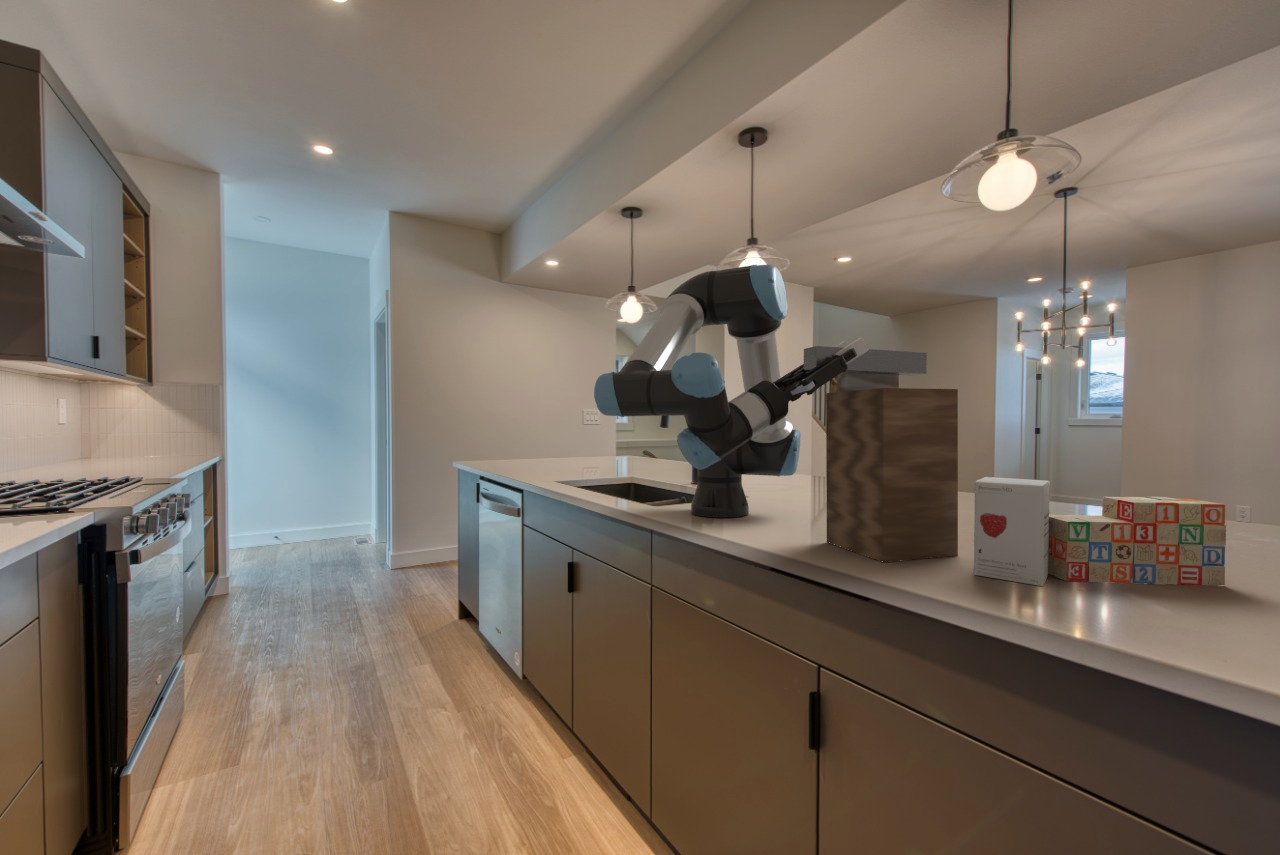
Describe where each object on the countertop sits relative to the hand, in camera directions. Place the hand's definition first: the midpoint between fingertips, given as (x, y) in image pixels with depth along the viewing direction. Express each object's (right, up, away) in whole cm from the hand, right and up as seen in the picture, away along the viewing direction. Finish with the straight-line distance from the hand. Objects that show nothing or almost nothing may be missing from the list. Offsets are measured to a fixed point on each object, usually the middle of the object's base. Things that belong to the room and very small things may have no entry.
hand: (855, 345), depth 99 cm
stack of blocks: (+35, -39, -17) cm, 55 cm away
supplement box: (+18, -39, -15) cm, 45 cm away
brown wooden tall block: (+7, -38, +2) cm, 39 cm away
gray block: (+2, -5, +1) cm, 5 cm away
